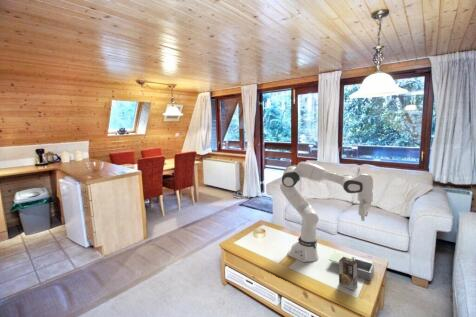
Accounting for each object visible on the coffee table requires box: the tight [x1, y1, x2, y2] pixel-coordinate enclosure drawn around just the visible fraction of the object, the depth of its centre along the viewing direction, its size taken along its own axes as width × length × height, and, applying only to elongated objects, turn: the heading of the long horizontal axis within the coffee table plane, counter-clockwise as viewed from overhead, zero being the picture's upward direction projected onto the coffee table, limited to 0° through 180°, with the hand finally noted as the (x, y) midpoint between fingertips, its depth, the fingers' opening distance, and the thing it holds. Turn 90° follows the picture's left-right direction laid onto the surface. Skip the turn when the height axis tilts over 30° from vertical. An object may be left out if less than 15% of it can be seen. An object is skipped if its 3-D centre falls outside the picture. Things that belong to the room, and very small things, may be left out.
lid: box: [328, 251, 357, 264], centre depth 169 cm, size 15×13×3 cm
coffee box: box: [338, 257, 358, 291], centre depth 149 cm, size 9×6×16 cm
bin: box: [355, 258, 375, 282], centre depth 162 cm, size 15×13×5 cm
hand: (364, 218), depth 160 cm, fingers open, 8 cm apart
